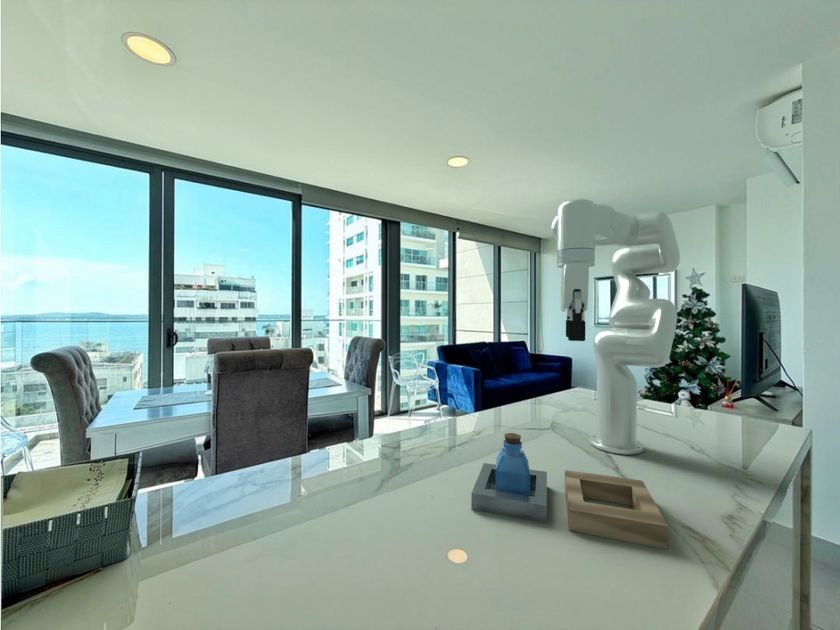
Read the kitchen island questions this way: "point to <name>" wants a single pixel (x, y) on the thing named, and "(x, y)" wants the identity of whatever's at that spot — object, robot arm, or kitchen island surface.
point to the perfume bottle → (512, 467)
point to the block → (510, 496)
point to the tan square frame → (614, 509)
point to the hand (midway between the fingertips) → (574, 338)
